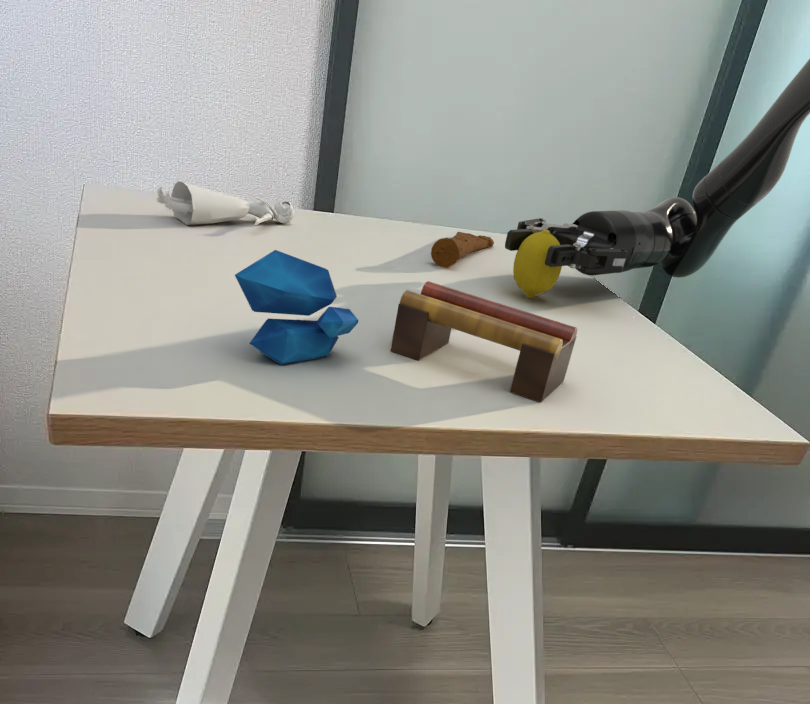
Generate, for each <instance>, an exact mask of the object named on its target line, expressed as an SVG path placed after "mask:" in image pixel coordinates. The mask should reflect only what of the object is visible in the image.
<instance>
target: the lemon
mask: <svg viewBox="0 0 810 704" xmlns="http://www.w3.org/2000/svg"><path fill="white" fill-rule="evenodd" d="M554 245H560V243H559V242H558V240H557V239H556V238H555V237H554V236H553V235H551V234H550V232H549V231H548V230H543V231H541V232H538V233H534V234H532V235H530V236H528V237H527V238H526V239H525V240H524V241H523V242H522V244H521V245H520V247H519V249H518V250H516V253H515V256H514V260H513V268H512V270H513V271H512V272H513V273H512V274H513V278H514V281H515V284H516V286H517V287H518V288H519V289H520V290H521V291H523V292H524V294H525V296H526V298H528V299H533V298H535V297H537V295H542V294H545V293H547V292H548V291H550V290H551V289H552V288H553V287H554V286H555V284H556V283H557V281H558V280H559V277H560V275H561V271H562V269H563V266H558V267H549V266H547V265H545V259H546V255H547V251H548V249H549V247H550V246H554Z"/></svg>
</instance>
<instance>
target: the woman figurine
mask: <svg viewBox="0 0 810 704" xmlns="http://www.w3.org/2000/svg"><path fill="white" fill-rule="evenodd" d="M162 189H163V186H160V187H158V188H157V191H156V193H157V196H158V197H156V202H157V203H160V204H164V207H165V208H167V209H170V210H172V213H173V216H174V218H175V219H178V220H179V221H181V222H182V223H183V224H185V225H186V226H193V225H194V226H195V225H209V224H210V225H211V224H216V223H224V222H225V223H226V222H230V221H237V220H240V219H242V218H245V216H247V215H252V216H254V217H253V218H254V219H255V222H254V224H253V225H254V226H259V224H260V223H263V222H266V221H268V222H272V221H274V220H275V221H277V222H279V223H281V224H283V225H284V224H290V222H292V220H293V219H294V218H295V217H294V216H295V209H294V207H293V205H292V203H291V202H290V201H283V202H281V201H279V202H276V203H275V204H274V206H272V205H271V204H270V203H269V202H268V201H266V200H265V199H262V198H260V197H259V196H253V198H254V199H255V200H250V201H248V200H245V199H243V198H240V197H237V196H232V195H230V194H225V193H222V192H219V191H216V190H213V189H208V188H205V187H201V186H199V185H195V184H191V183H187V182H183V181H180V180H178V181H177V182H176V183H174V185H173V188H172V191H171V194H170V191H167V192H166V193H164V191H163V190H162Z"/></svg>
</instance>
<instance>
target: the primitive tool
mask: <svg viewBox="0 0 810 704" xmlns="http://www.w3.org/2000/svg"><path fill="white" fill-rule="evenodd" d="M494 245H495V241H494V240H493V238H492V237H490V236H486V235H474V234H472V233H467V232H461V231H457V232H456V234H455V235H454V236H453V237H450V238H449V237H444V238H443V237H441V238H439V239H437V240H436V241H435V242H434V244H433V245H432V246H431V248H430V249H431V250H430V256H431V259H432V261H433V262H434V263H435V265H437V266H439V267H441V268H451V267H452V266H453V265H455V264H456V263H457V262H458V261H459V259H460V258H462V259H463V258H464V257H465V256H466V255H467V254H471V253H472V252H476V251H480V250H483V249H486V248H489V247H490V248H491V247H493V246H494Z"/></svg>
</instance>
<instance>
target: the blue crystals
mask: <svg viewBox="0 0 810 704" xmlns="http://www.w3.org/2000/svg"><path fill="white" fill-rule="evenodd" d="M234 277H235V279H236V281H237V283H238V285H239V286H240V289H241V291H242V293H243V296H244V297H245V298H246V301H247V304H248V305H249V307H250V310H251V311H252V312H254V313H264V314H265V313H266V314H278V315H294V316H304V317H305V316H307V317H308V316H309V317H310V316H312V315H314V314H316V313H318V312H319V311H321V310H322V309H324V308H326V309H325V310H324V312H323V313H322V314H321V315H320V316H319V318H317V320H312V319H311V320H310V319H289V318H267V319H265V321H264V322H263V324H262V325H261V327H260V328H259V329H258V331H257V332H256V333H255V335H254V336H253V337H252V339H251V340H250V341H249V345H251V346H252V347H253V348H255V349H256V350H258V351H259V352H260V353H262V354H263V355H264V356H266V357H267V358H268V359H271V360H272V361H274V362H275V363H277V364H278V365H279V366H282V365H288V364H293V363H299V362H305V361H309V360H310V361H311V360H315V359H316V360H317V359H322V358H327V357H328V356H330V354H331V353H332V350H333V349H334V347H335V345H336V344H337V342H338V340H339V337H340V336H342V335H346V334H350V333H351V332H352V330H353V329H354V328H355V327H357V325H358V324H359V319H358V317H356V315H355V314H354V312H353V311H352V310H351V309H350V308H344V307H337V306H330V305H332V304H333V302H334V301H335V300H336V298H338V296H337V292H336V290H335V286H334V283H333V281H332V278H331V273H330V271H329V269H327V268H326V267H323V266H321V265H317V264H315V263H312V262H309V261H307V260H304V259H301V258H298V257H296V256H293V255H290V254H288V253H286V252H283V251H280V250H277V249H274V250H273V251H271V252H269V253H268V254H266V255H264V256H262V257H261V258H259V259H257V260H256V261H254V262H253V263H251V264H250V265H248V266H246V267H245V268H243V269H241V270H239V272H237V273H235V274H234Z"/></svg>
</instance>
